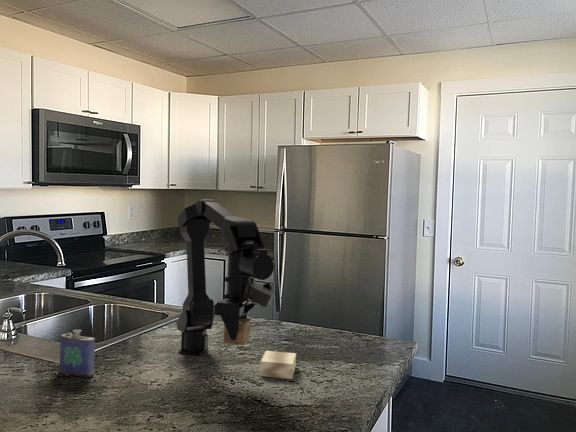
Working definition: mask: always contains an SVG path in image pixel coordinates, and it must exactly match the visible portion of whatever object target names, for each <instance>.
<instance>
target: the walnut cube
mask: <svg viewBox="0 0 576 432" xmlns="http://www.w3.org/2000/svg"><path fill="white" fill-rule="evenodd" d="M251 321H252V320H251V318H247V319H246V318H240V321H239V327H238V332H237V337H236V340H231V338H230V336H229V333H228V331H227V329H226V327H225V324H224V323H223V325H224V326H223V343H224V344H229V345H239V346H244V345H245V344H247V342H248V341H249V340H250V338H251Z"/></svg>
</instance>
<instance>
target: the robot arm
mask: <svg viewBox="0 0 576 432" xmlns="http://www.w3.org/2000/svg"><path fill="white" fill-rule="evenodd" d="M177 224H178V226H179V233H180V235H181V236H182V238H183V240H185V243H186V266H187V269H186V270H187V291H188V292H187V296H186V298H185V299H184V301H183V303H182V311H181V313H180V315H179V317H178V318H177V320H176V323H175V324H176V329H177V330H178V331H180V332H181V334H180V335H181V339H180V349H179V350H178V353H179V354H185V355H192V356H193V355H195V356H201V355H202V354H203V353H204V352H206V351H207V350H208V349H209V334H207V330H212V328H213V324H214V319H215V316H220V317H221V320H222V322H223V325H224V324H225V327H226V329H227V331H228V333H229V336H230V338H231V340H236V337H237V332H238V327H239V321H240V318H246V319H248V315H249V312H250V311H251V310H252V309H254V308H255V307H256V305H257V304H259V305H260V306H261V307H263V308H268V306H269V305H271V303H272V300H273V298H274V296H275V290H274V287H273V286H274V285H273V283H271V282H269V281H267V282H265V283H264V284H263V285H262V284H261V283H256V281H255V279H257V280H261V281H264V280H267V279H268V278H270V277H271V276H272V275H273V272H274V269H275V263H274V261H273V259H272V257H271V256H270V255H269V254H268V249H266V248H265V245H264V244H265V243H264V240H263V239H262V237H261V234H260V230H259V228H258V226H257V223H256V222H255V221H254V220H252V219H249V218H246V217H239V216H236V215H235V214H233V213H232V212H230V210H228V209H226V208H225V207H224V206H222V205H220V204H219V201H217V200H215V199H210V198H209V199H206V198H205V199H198V200H197V201H196V202H195V203H194V204H191V205H190V206H187V207H185V208H184V209H183V210H182V211H181V212H180V213H179V214H178V218H177ZM211 224H214V226H216V227H217V228H219V229H220V230H221V232H222V233H221V236H222V237H223V239H224V240H225V242H226V243H227V244H228V245H227V246H225V248H224V251H225V252H226V253H227V254H228V255H227V256H228V258H227V275H226V276H225V277H224V282H226V293H224V294H223V299H220V300H219V301H218V302H216V303H215V302H214V300H213V299H211V298H210V297H209V295H208V294H207V285H206V284H207V281H206V279H207V278H206V259H205V258H206V257H205V254H206V253H205V241H206V238H207V236H208V235H209V232H210V230H211V229H210V225H211ZM252 301H253V302H252ZM254 302H255V303H254Z"/></svg>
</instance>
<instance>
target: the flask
mask: <svg viewBox="0 0 576 432" xmlns="http://www.w3.org/2000/svg"><path fill="white" fill-rule="evenodd" d="M72 332H73V333H72ZM72 332H68V333H63V334H61V336H60V346H59V349H60V351H59V352H60V353H59V370H58V371H59V373H61V374H64V375H67V376H69V375H70V376H76V377H87V378H90V377H93V376H94V375H95V347H96V346H95V344H96V338H95V337H92V336H90V337H89V336H83V335H82V336H81V332H82V330H81V329H73V330H72Z"/></svg>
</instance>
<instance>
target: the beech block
mask: <svg viewBox="0 0 576 432" xmlns="http://www.w3.org/2000/svg"><path fill="white" fill-rule="evenodd" d="M296 363H297V353H295V352H285V351H274V350H273V351H272V350H265V352H264V353H263V356H262V358H261V359H260V370H259V371H260V372H259V376H260V377H268V378H269V377H270V378H277V379H289V380H290V379H291V380H292V379H293V377H294V374H295V369H296V368H297V367H296Z"/></svg>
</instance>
